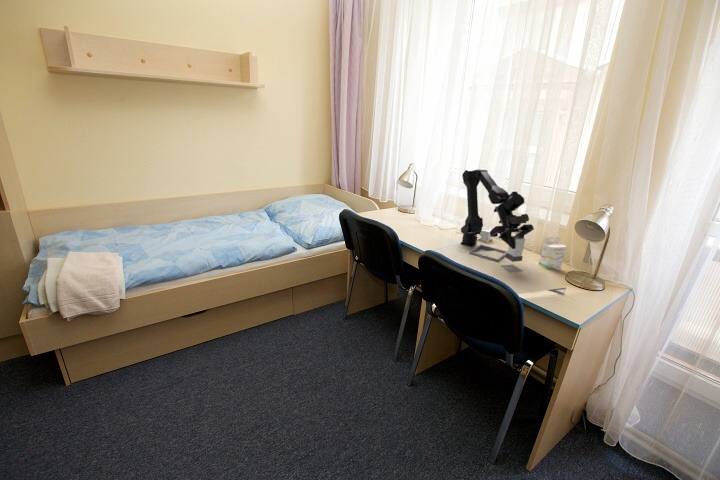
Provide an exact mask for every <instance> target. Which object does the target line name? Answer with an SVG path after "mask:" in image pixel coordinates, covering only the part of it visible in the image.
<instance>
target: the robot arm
mask: <svg viewBox="0 0 720 480" xmlns="http://www.w3.org/2000/svg"><path fill="white" fill-rule="evenodd" d="M461 176H462V177H461V178H462V182H463V184H464V186H465V187H466V197H467V199H466V200H467V216H466V218H465V220H464V225H463V226H462V227H460V232H461V234H463V235H462V241H461V242H460V244H461V245H463V246H467V247H471V248H473V247H475V246H477V242H478V240H477V238H478V237H477V236H478V234H480V232H481V230H482V228H483V227H484V223H483V221H484V219H483V217H480V215H479V203H478V201H479V200H478V186H479V184H480V182H481V184H482V186H483V187H484V188H485V190H486V191H487V193H488V195H487V196H488V199H489V201H490V203H491V204H492V205H495V207H494V209H493V212H494V213H497V216H498V218H499V221H498V222H499V224H501V225H495V226H494V227H493V228H491V229H492V230H491V231H490V236H491V237H492V238H496V237H498V239H500V240H502V241H503V242H505V243H506V245H508V247H509V246H510V247H511V248H512V249H515V246H514V243H513V240H512V237H511V236H512V234H513V233H514V234H515V235H514V236H520V237H522V238H524V239H525V236H526V235H528V234H529V233H530V232H532V231H534V230H535V228H534V226H533V224H530V223H527V222H529V221H530V218H529V215H528V213H523V214H521V215H516V214H514V213H513V212H514V211H516V210H518V209H519V208H520V207H521V206H522V205H524V203H525V198H524V197H523V196H522V195H521V193H520V194H519V193H518V191H512V192H511V193H510V194H509V193H508V191H507V190H505V189H504V188H503V187H500V186H499V185H498V184H497V183H496V181H495V180H494V179H493V177H491V175H490V174H489V172H488V170H487V169H486V168H478V169H466V170H464V172H463V173H462V175H461ZM522 224H523V225H522Z"/></svg>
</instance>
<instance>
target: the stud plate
mask: <svg viewBox="0 0 720 480" xmlns="http://www.w3.org/2000/svg"><path fill="white" fill-rule="evenodd" d="M500 268H502V269H503V270H506V271H507V272H508V273H517V272H518V273H519V272H524V270H523V269H521V268H520V267H517V266H516V265H514V264H504V265H500Z"/></svg>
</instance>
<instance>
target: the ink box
mask: <svg viewBox="0 0 720 480" xmlns="http://www.w3.org/2000/svg"><path fill="white" fill-rule="evenodd" d="M560 239H561V237H560V236H546V237H545V238H544V243H543V245H542V248H541V252H540V253H541V254H540V257H539V261H538V266H540V267H542V268H544V269H546V270H547V269H556V270H557V271H561V269H562V265H563V262H564V258H565V254H566V251H567V249H568V248H567V247H568V246H567V245H564V244H562V243H560Z"/></svg>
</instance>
